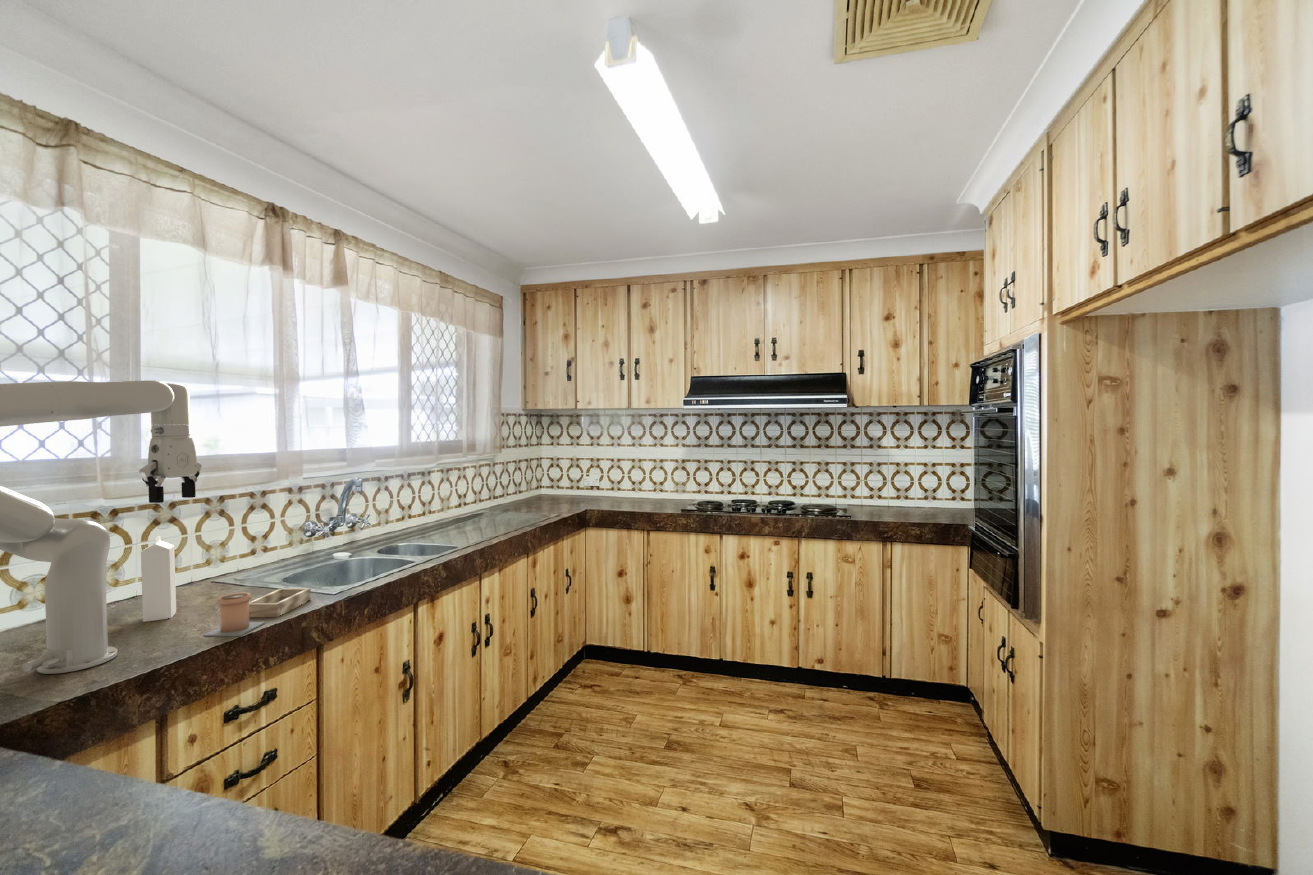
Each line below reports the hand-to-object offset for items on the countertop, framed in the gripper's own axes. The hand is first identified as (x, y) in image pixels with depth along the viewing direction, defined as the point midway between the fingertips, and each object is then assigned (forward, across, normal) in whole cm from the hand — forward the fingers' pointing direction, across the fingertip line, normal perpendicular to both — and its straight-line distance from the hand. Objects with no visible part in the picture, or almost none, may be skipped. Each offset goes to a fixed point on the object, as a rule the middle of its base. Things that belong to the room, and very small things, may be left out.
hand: (173, 499), depth 147 cm
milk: (+34, +10, +13) cm, 37 cm away
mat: (+33, 0, -15) cm, 37 cm away
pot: (+33, 0, -15) cm, 36 cm away
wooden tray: (+33, +17, -15) cm, 40 cm away
